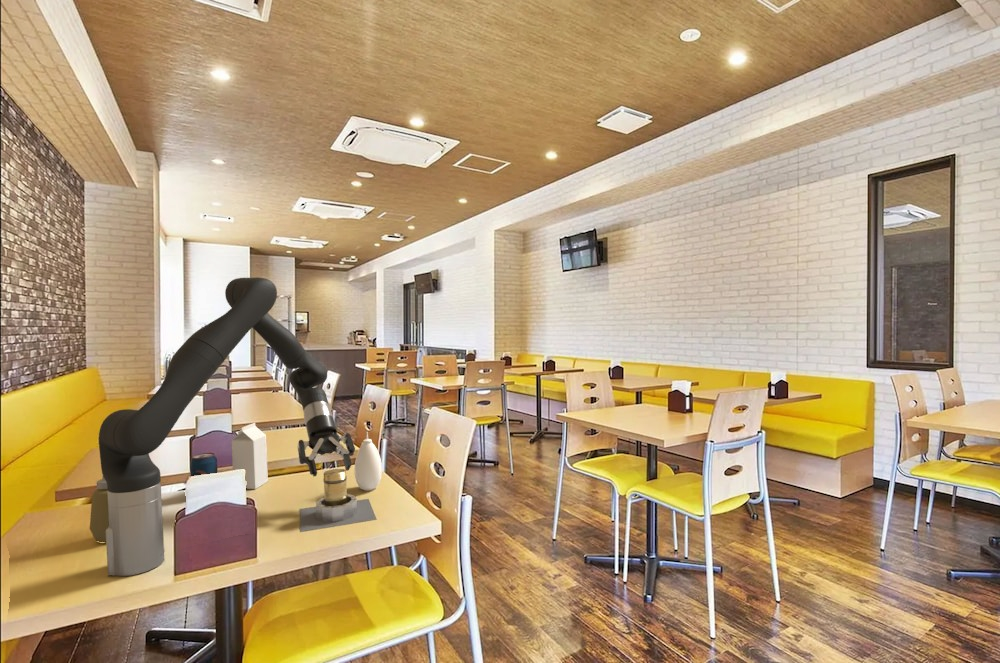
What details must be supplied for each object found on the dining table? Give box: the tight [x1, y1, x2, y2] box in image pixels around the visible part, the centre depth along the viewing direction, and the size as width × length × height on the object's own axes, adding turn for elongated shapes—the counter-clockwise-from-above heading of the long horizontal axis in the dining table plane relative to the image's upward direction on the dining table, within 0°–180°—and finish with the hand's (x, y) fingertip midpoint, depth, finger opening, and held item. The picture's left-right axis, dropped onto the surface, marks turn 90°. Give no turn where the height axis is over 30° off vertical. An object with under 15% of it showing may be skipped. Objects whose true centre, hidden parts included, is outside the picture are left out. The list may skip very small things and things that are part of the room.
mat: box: [299, 498, 378, 533], centre depth 134 cm, size 18×16×1 cm
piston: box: [322, 468, 348, 506], centre depth 134 cm, size 6×6×11 cm
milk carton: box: [231, 422, 269, 490], centre depth 161 cm, size 7×7×19 cm
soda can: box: [189, 452, 219, 477], centre depth 153 cm, size 7×7×12 cm
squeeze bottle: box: [89, 476, 109, 542], centre depth 124 cm, size 8×8×18 cm
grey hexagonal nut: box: [315, 493, 357, 522], centre depth 134 cm, size 10×10×4 cm
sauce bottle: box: [354, 431, 383, 492], centre depth 153 cm, size 8×8×18 cm
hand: (332, 471), depth 137 cm, fingers open, 8 cm apart
